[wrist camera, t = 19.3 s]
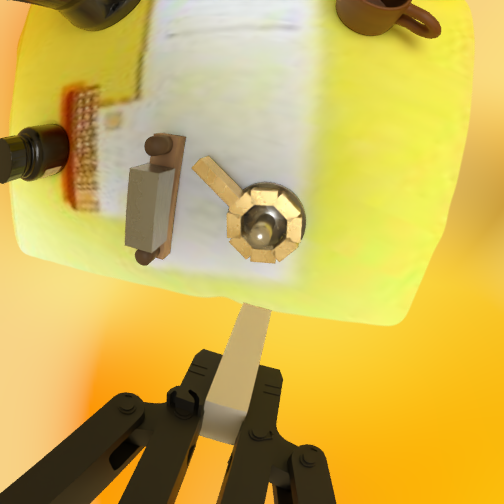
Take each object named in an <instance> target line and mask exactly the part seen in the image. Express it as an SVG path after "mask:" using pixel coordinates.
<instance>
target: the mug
mask: <svg viewBox="0 0 504 504" xmlns="http://www.w3.org/2000/svg"><path fill="white" fill-rule="evenodd" d="M411 1H412V0H336V10H337V13H338V16H339V18H340V19H341V20H342V22H343V23H344V24H345V25H346V26H348V27H349V28H350V29H352V30H354V31H355V32H358V33H361V34H364V35H379V34H382V33H385V32H386V31H388V30H389V29H390V28H391V27H392V26H393V25H394V24H398V25H401V26H403V27H406V28H407V29H409V30H410V31H412V32H413V33H415V34H417V35H419V36H422V37H425V38H431V39H432V38H437V37H438V36H439V35H440V34H441V26H440V24H439V22H438V21H437V20H436V19H435V17H434V16H432V15H431V14H430V13H429V12H427V11H426V10H424V9H422V8H420V7H417V6H415V5H413V4H412V3H411ZM415 19H416V20H418V21H420V22H422V23H423V24H421V23H420V22H418V21H416V20H415ZM424 24H425V25H424Z"/></svg>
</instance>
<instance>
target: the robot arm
mask: <svg viewBox="0 0 504 504" xmlns="http://www.w3.org/2000/svg"><path fill="white" fill-rule="evenodd" d="M14 1H20V2H25V3H30V4H35V5H39V6H43V7H47V8H52V9H55V10H58V11H59V12H60V13H61V14H62V15H63V16H64V17H66V18H67V19H68V20H69V21H70V22H71V23H72V24H73V25H74V26H76V27H78V28H82V29H85V30H89V31H96V30H101V29H104V28H107V27H109V26H111V25H113V24H115V23H116V22H118V21H119V20H121V19H122V18H123V17H125V16H126V15H127V14H128V13H129V12H130V11H131V10H132V9H133V8H134V7H135V6H136V5H137V4H138V2H139V1H140V0H14ZM270 314H271V310H268V309H265V308H261V307H257V306H254V305H250V304H247V303H243V304H242V307H241V310H240V312H239V315H238V318H237V320H236V323H235V325H234V328H233V331H232V333H231V336H230V338H229V341H228V343H227V346H226V349H225V351H224V354H223V355H221V354H217V353H215V352H211V351H208V350H205V349H203V350H201V351H200V352H199V353H198V354H196V355H195V357H194V359H193V361H192V363H191V365H190V367H189V369H188V371H187V373H186V375H185V377H184V379H183V381H182V383H181V385H180V386H176V387H174V388H172V389H170V390H169V391H168V392H167V402H165V403H147V402H143V401H142V400H141V399H140V398H139V397H138V396H136V395H135V394H133V393H120V394H118V395H116V396H114V397H113V398H112V399H111V400H110V401H109V402H107V403H106V404H105V405H104V406H103V407H102V408H101V409H99V410H98V411H97V412H96V413H95V414H94V415H93V416H91V417H90V418H89V419H88V420H87V421H86V422H84V423H83V424H82V425H81V426H80V427H79V428H77V429H76V430H75V431H74V432H73V433H72V434H71V435H70V436H68V437H67V438H66V439H65V440H63V441H62V442H61V443H60V444H59V445H58V446H57V447H55V448H54V449H53V450H52V451H51V452H49V453H48V454H47V455H46V456H45V457H44V458H42V459H41V460H40V461H39V462H38V463H36V464H35V465H34V466H33V467H32V468H30V469H29V470H28V471H27V472H26V473H25V474H24V475H22V476H21V477H20V478H19V479H17V480H16V481H15V482H14V483H12V484H11V485H10V486H9V487H8V488H6V489H5V490H4V491H3V492H1V493H0V504H90V503H91V502H92V501H93V500H94V499H95V498H96V497H97V496H98V495H99V494H100V493H101V492H102V491H103V490H104V489H105V488H106V487H107V486H108V485H109V484H110V483H111V482H112V481H113V480H114V479H115V478H116V477H117V476H118V475H119V474H120V472H121V471H122V470H123V469H124V468H125V467H126V466H127V465H128V464H129V463H130V462H131V461H132V460H133V459H134V458H135V457H136V455H137V454H138V453H139V452H140V451H141V450H142V449H143V448H144V447H145V446H146V448H145V451H144V452H143V455H142V457H141V459H140V461H139V462H138V465H137V467H136V469H135V471H134V473H133V475H132V477H131V479H130V481H129V483H128V485H127V487H126V489H125V491H124V493H123V495H122V497H121V499H120V501H119V503H118V504H174V503H175V500H176V497H177V495H178V492H179V490H180V487H181V484H182V482H183V479H184V476H185V474H186V471H187V468H188V466H189V463H190V460H191V458H192V455H193V452H194V450H195V447H196V442H197V439H198V436H199V435H200V436H203V437H206V438H210V439H213V440H216V441H220V442H223V443H227V444H231V445H234V447H233V451H232V453H231V456H230V459H229V461H228V466H227V469H226V473H225V476H224V480H223V483H222V486H221V490H220V493H219V496H218V500H217V503H216V504H264V503H265V497H266V492H267V488H268V482H270V483H272V486H273V495H274V504H336V500H335V495H334V491H333V486H332V482H331V478H330V473H329V469H328V464H327V460H326V457H325V455H324V453H323V451H322V450H321V449H319V448H318V447H316V446H313V445H308V444H306V445H301V446H299V447H298V446H296V445H294V444H292V443H290V442H288V441H286V440H285V439H284V438H283V437H282V436H281V435H280V434H279V432H278V431H277V427H276V421H277V414H278V408H279V402H280V395H281V388H282V382H283V378H282V375H281V372H280V370H278V369H274V368H270V367H266V366H263V365H259V363H260V358H261V354H262V350H263V345H264V341H265V337H266V332H267V328H268V323H269V319H270Z"/></svg>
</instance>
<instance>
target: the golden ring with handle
mask: <svg viewBox="0 0 504 504" xmlns="http://www.w3.org/2000/svg"><path fill="white" fill-rule="evenodd" d="M192 169H193V170H194V171H195V172H196V173H197V174H198V175H199V176H200V178H201V179H202V180H203V181H204V182H205V183H206V184H207V185H208V186H209V187H210V188H211V189H212V190H213V191H214V192H215V193H216V194H217V195H218V196H219V197H220V198H221V199H222V200H223V201H224V202H225V203H226V204H227V205H228V206H229V207H230V208H229V209H228V210H229V212H228V213H227V238H231V240H230V241H229V242H230V244H231V245H232V246H233V247H234V248H235V249H236V250H237V251H238V252H239V253H240V254H241V255H242V256H243V257H244V258H245V259H247V258H249V257H250V256H251V259H250V261H252V262H264V263H275V262H276V259H277V260H278V261H279V262H280V261H281V260H283V259H284V258H285V257H286V256H288V255H289V254H290V253H291V252H293V251H294V250H295V249H296V248H298V245H299V243H300V242H301V227H302V214H301V209H300V208H299V207H298V206H297V205H296V203H295V202H294V201H293V200H292V199H291V198H290V197H289V196H288V195H287V194H286V193H285V192H284V191H283V192H281V193H280V194H279V189H278V188H257V187H254V188H253V189H252V190H250V189H249V190H248V191H247V192H246V193H245V192H244V191H243V190H242V189H241V188H240V187H239V186H238V185H237V184H236V183H235V182H234V181H233V180H232V179H231V178H230V177H229V176H228V175H227V174H226V173H225V172H224V171H223V170H222V169H221V168H220V167H219V166H218V165H217V164H216V163H215V162H214V161H213V160H212V159H211V158H210V157H209V156H207V157H204V158H200V159H199V160H198V161H197V163H196V164H195V165H194V166H193V167H192ZM253 205H268V206H275V208H276V209H277V210H278V211H279V212H280V213H281V214H282V215H283V216H284V217H285V218H286V219H287V234H286V235H285V236H284V237H283V238H282V239H280V240H279V241H278V242H277V243H276V244H274V245H273V244H268V245H267V246H266V247H265V248H263V249H256V248H254V247H252V246H251V245H250V244H249V242H248V234H247V233H246V232H245V231H244V214H245V213H246V212H247V211H248V210H249V209H250V208H251V207H252V206H253Z"/></svg>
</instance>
